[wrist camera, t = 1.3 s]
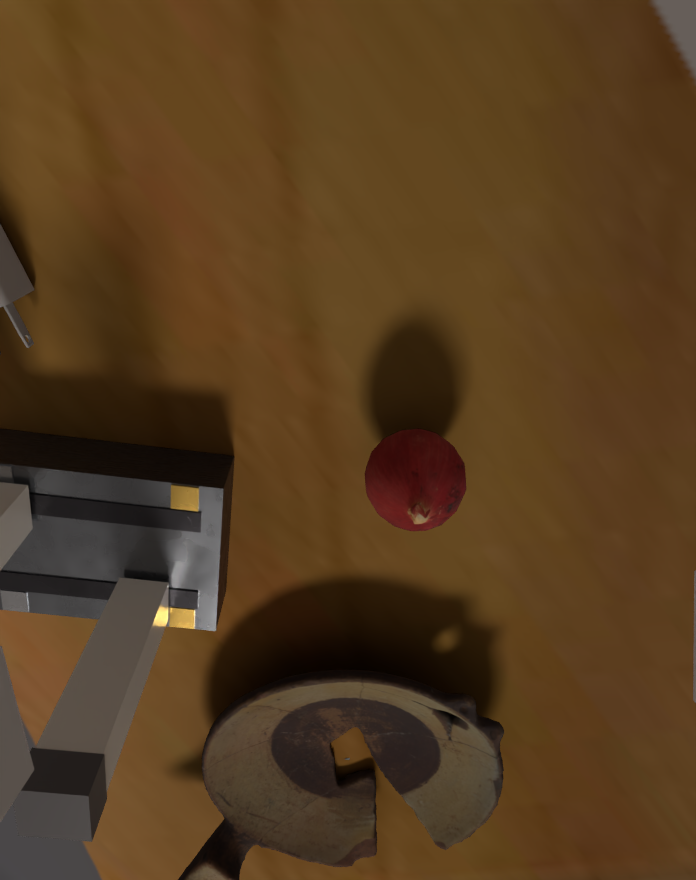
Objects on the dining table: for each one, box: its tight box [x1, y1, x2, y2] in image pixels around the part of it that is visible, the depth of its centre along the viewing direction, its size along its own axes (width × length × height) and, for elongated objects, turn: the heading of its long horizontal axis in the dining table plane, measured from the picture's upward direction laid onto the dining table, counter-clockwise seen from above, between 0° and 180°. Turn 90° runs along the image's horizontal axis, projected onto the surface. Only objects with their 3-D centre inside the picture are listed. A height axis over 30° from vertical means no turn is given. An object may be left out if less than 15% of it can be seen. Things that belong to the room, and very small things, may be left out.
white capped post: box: [13, 578, 169, 842], centre depth 34 cm, size 3×3×14 cm
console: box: [0, 429, 234, 631], centre depth 41 cm, size 11×15×4 cm
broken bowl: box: [178, 670, 504, 880], centre depth 49 cm, size 22×30×8 cm
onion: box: [365, 429, 466, 531], centre depth 37 cm, size 6×6×8 cm
